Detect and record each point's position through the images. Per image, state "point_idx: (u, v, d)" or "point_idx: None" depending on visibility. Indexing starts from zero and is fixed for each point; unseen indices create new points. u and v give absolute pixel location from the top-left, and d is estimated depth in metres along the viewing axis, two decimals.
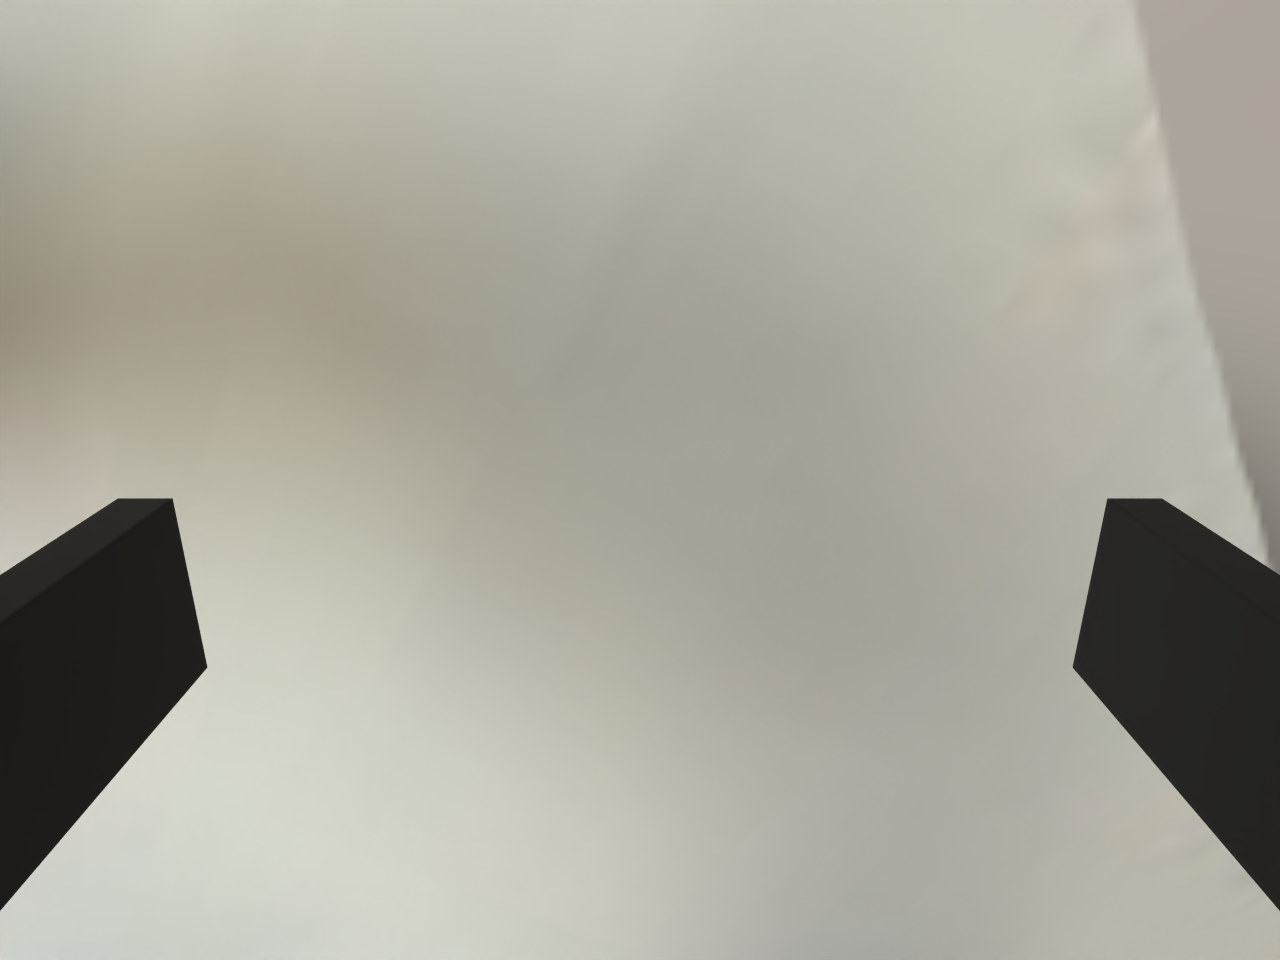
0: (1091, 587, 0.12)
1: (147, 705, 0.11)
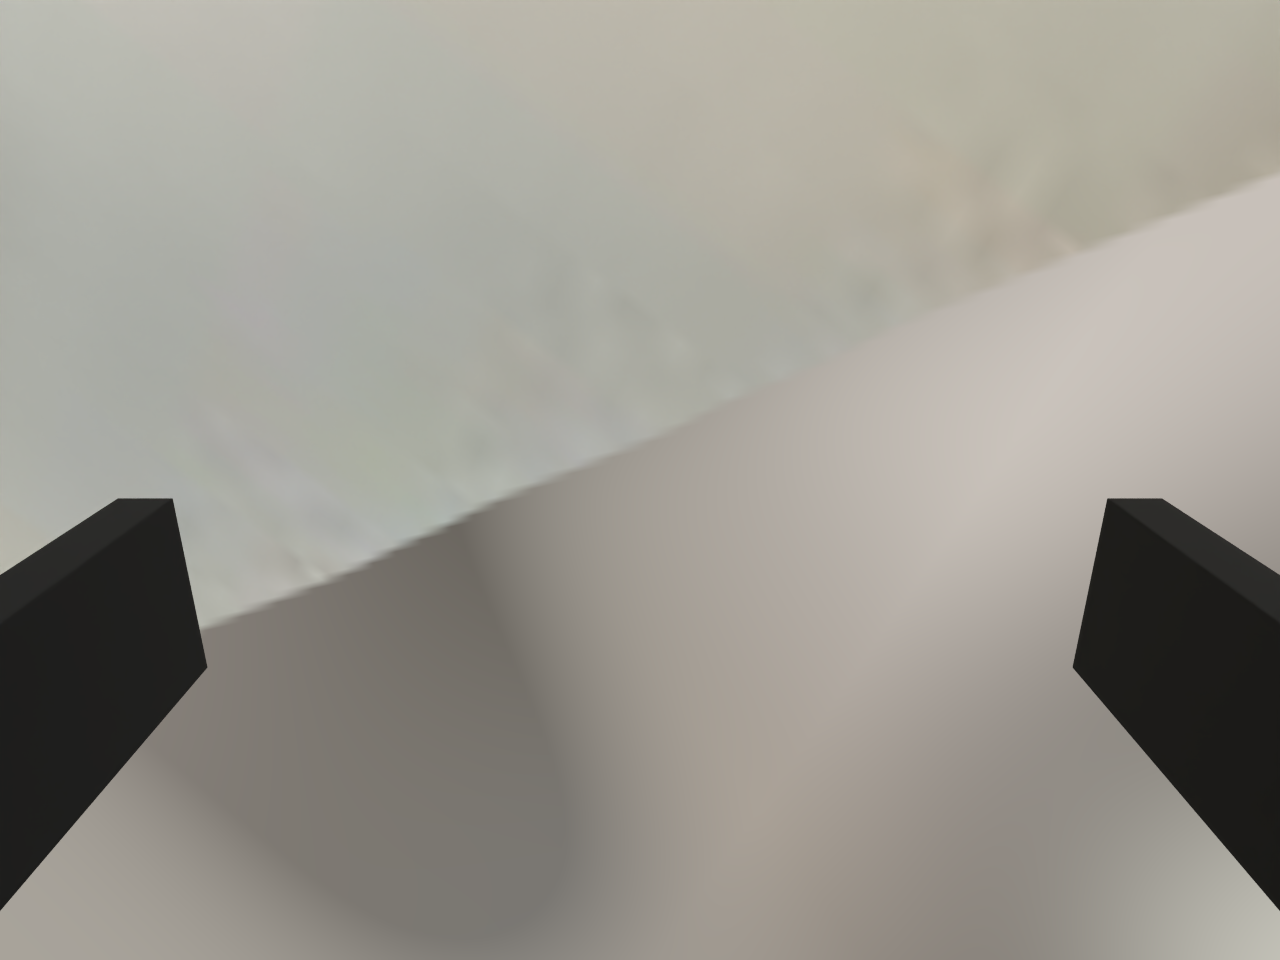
0: (1092, 587, 0.12)
1: (147, 706, 0.11)
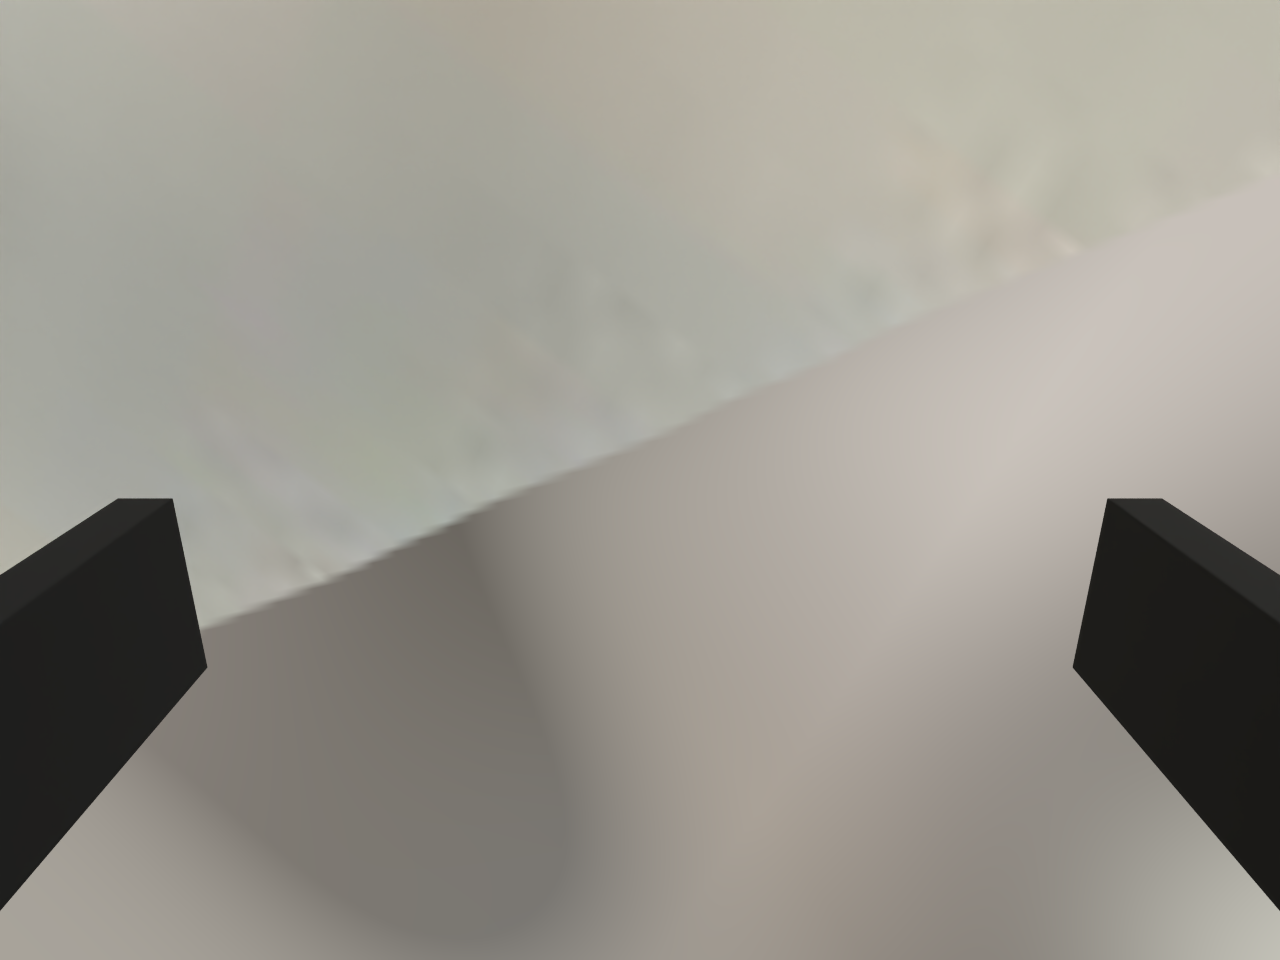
0: (1092, 587, 0.12)
1: (147, 706, 0.11)
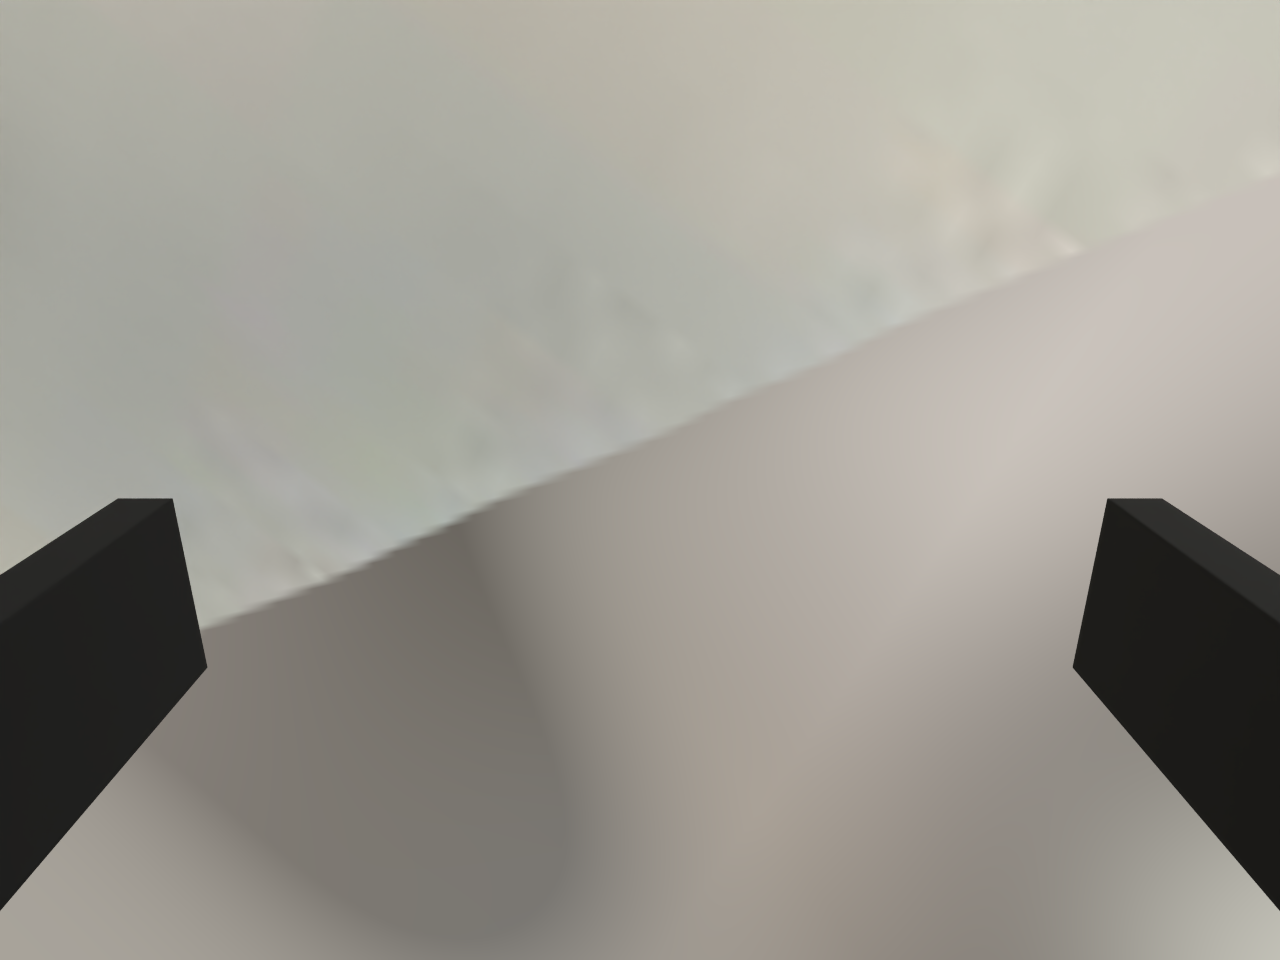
0: (1092, 587, 0.12)
1: (147, 706, 0.11)
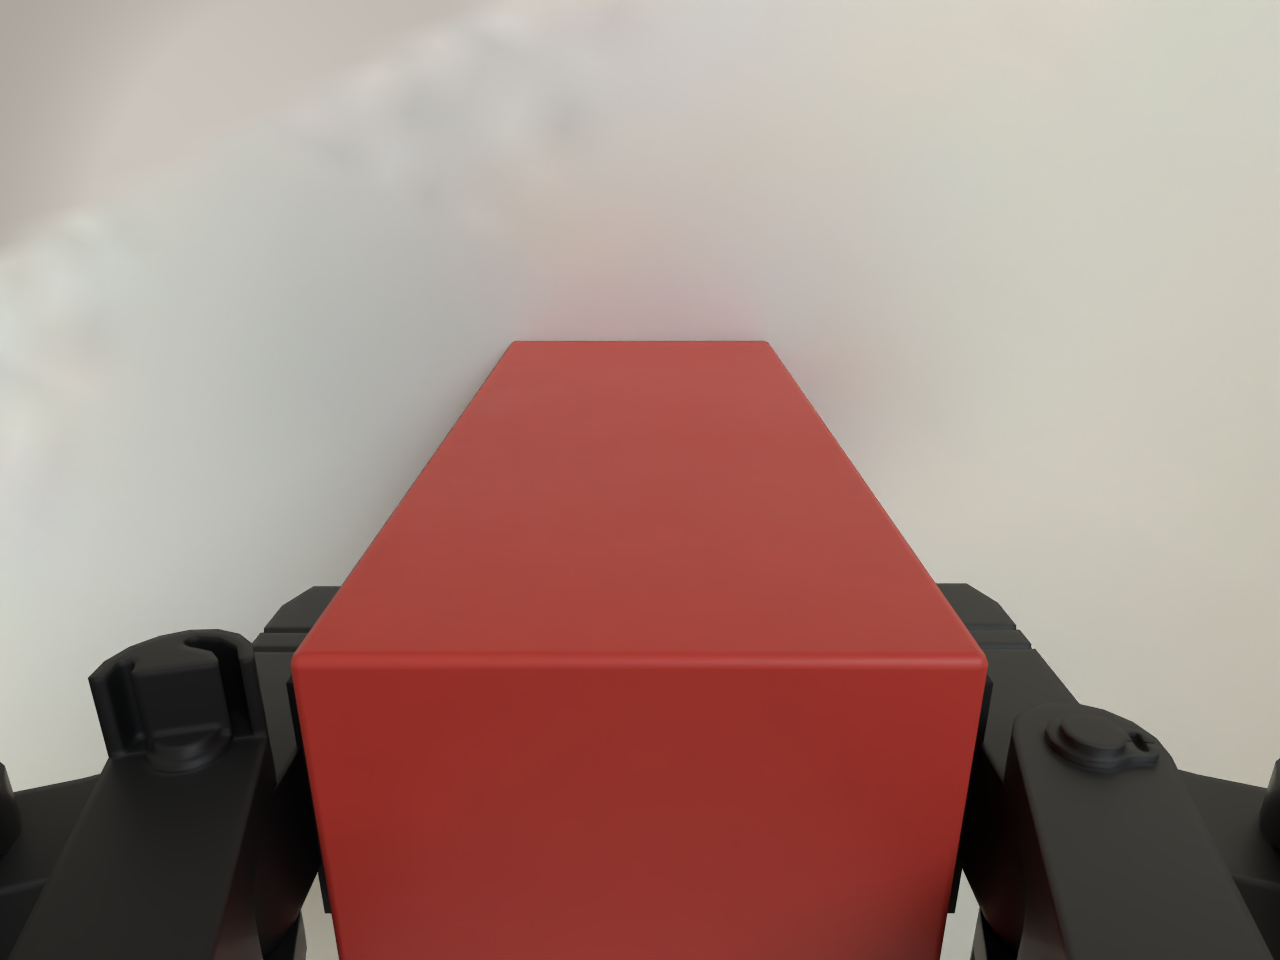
0: None
1: None
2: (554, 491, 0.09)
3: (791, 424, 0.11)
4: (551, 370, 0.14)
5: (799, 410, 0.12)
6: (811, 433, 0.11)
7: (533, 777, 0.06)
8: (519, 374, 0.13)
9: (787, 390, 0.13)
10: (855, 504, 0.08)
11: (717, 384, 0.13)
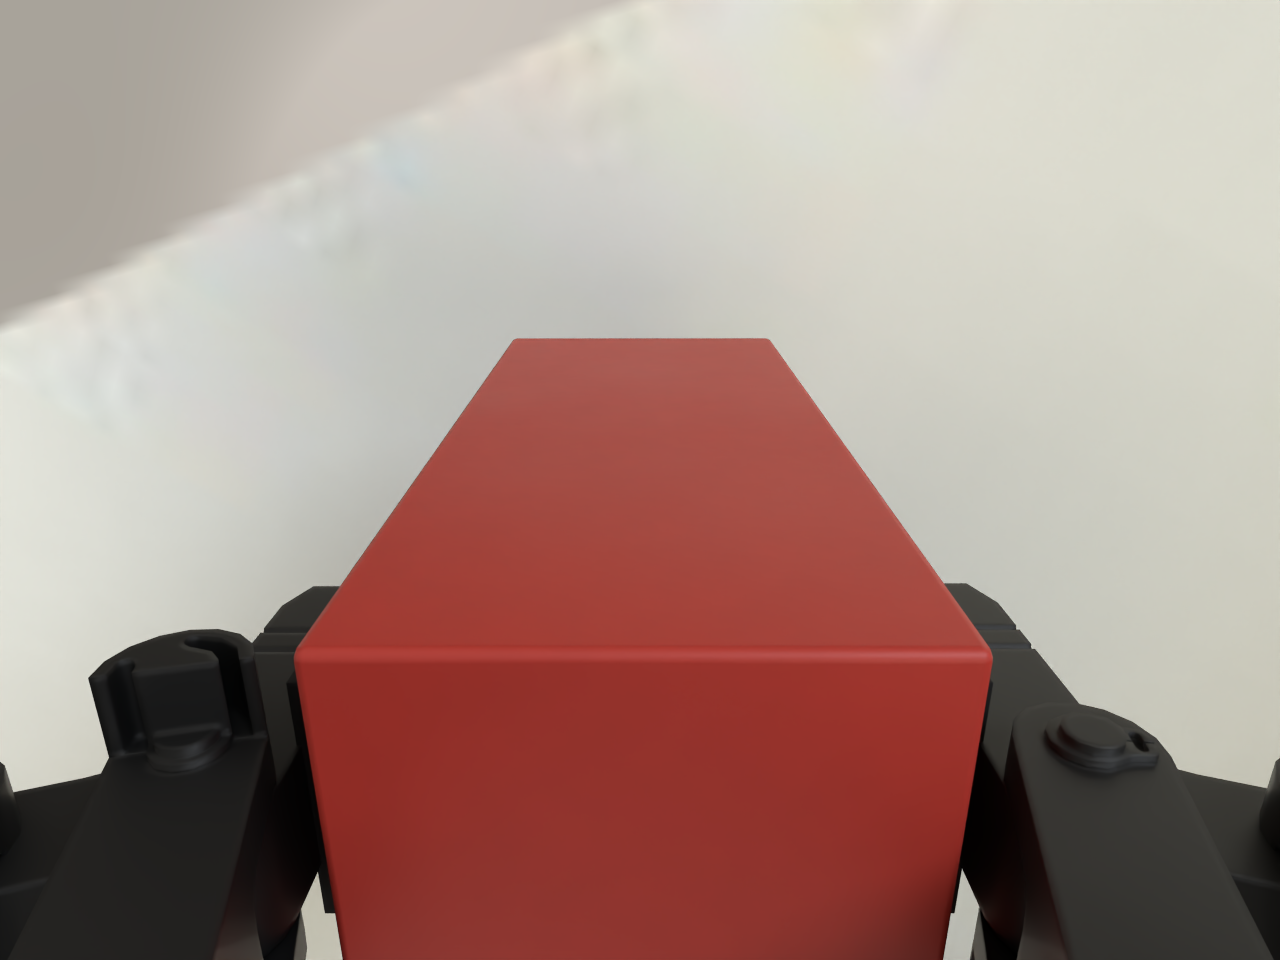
0: None
1: None
2: (557, 487, 0.09)
3: (794, 420, 0.11)
4: (553, 367, 0.14)
5: (801, 407, 0.12)
6: (814, 430, 0.11)
7: (537, 770, 0.06)
8: (521, 371, 0.13)
9: (789, 387, 0.13)
10: (858, 499, 0.08)
11: (718, 381, 0.13)
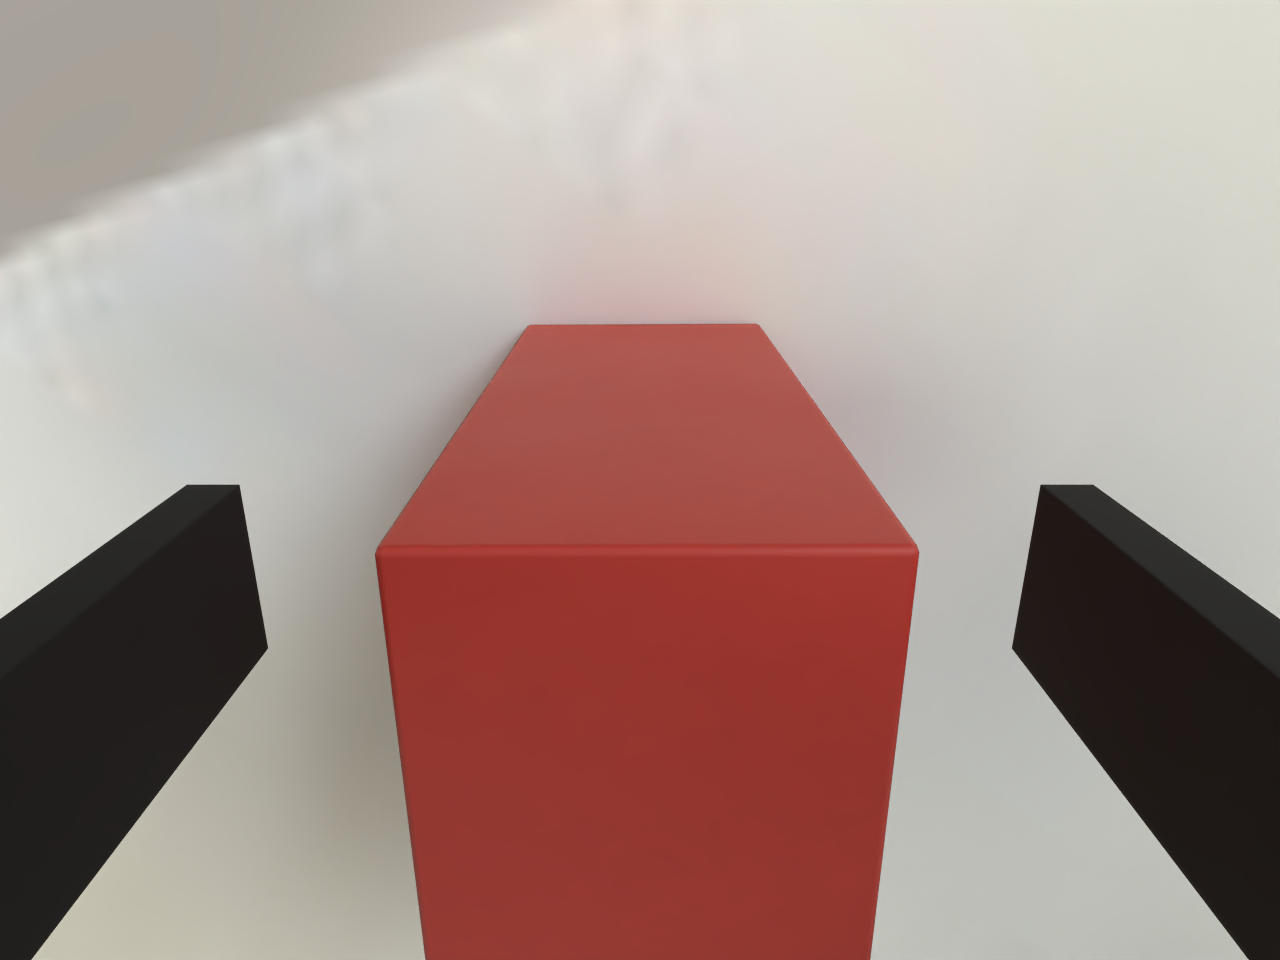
0: (1028, 571, 0.13)
1: (219, 682, 0.12)
2: (573, 440, 0.10)
3: (775, 389, 0.13)
4: (565, 348, 0.15)
5: (783, 378, 0.13)
6: (792, 395, 0.12)
7: (564, 645, 0.08)
8: (536, 351, 0.15)
9: (774, 363, 0.14)
10: (825, 447, 0.10)
11: (712, 359, 0.15)
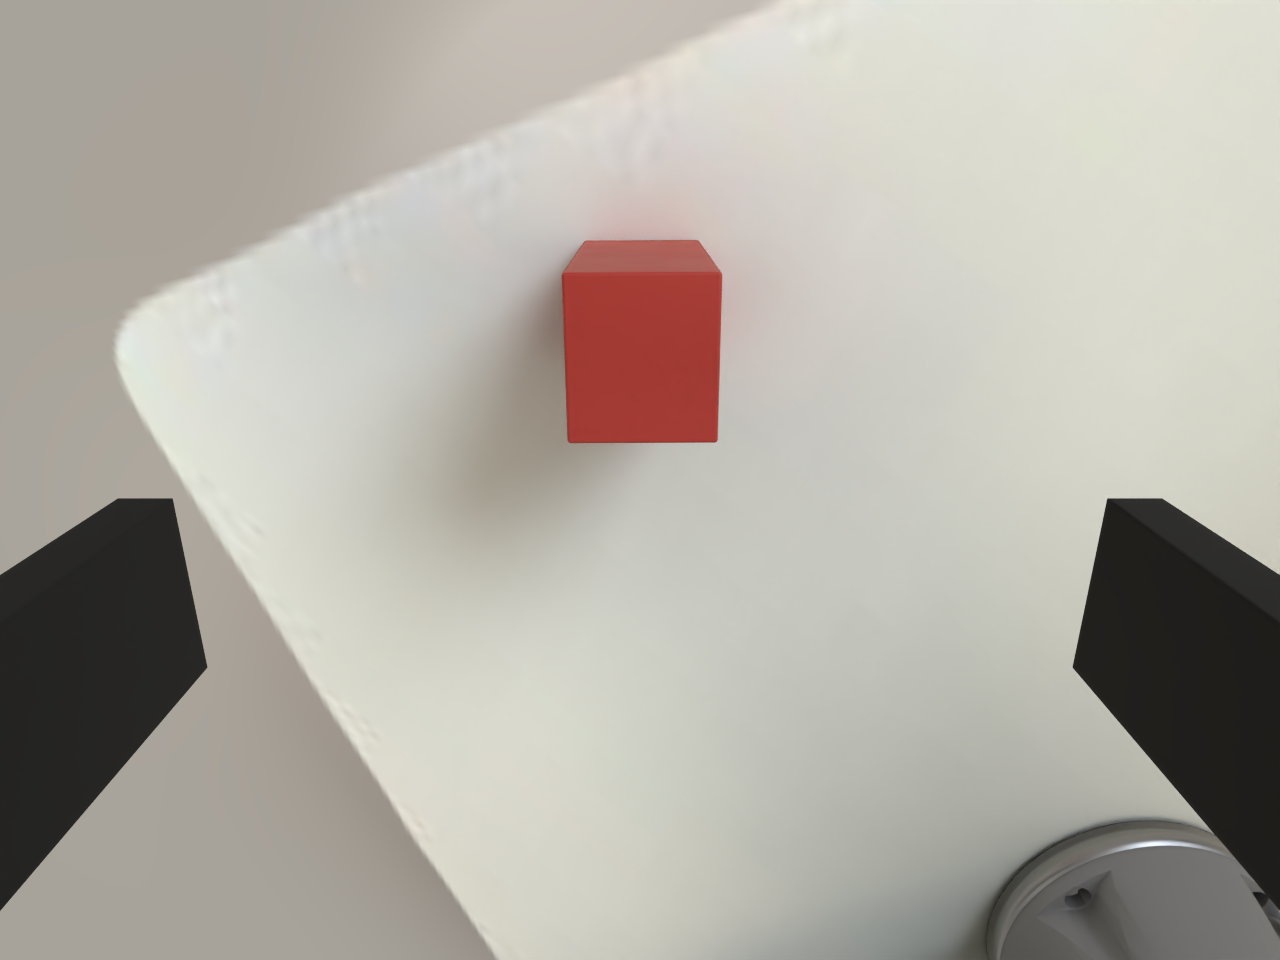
0: (1092, 587, 0.12)
1: (147, 705, 0.11)
2: (615, 261, 0.29)
3: (695, 253, 0.31)
4: (605, 245, 0.34)
5: (700, 251, 0.31)
6: (701, 254, 0.30)
7: (617, 305, 0.26)
8: (593, 246, 0.33)
9: (698, 248, 0.32)
10: (706, 261, 0.28)
11: (671, 248, 0.33)
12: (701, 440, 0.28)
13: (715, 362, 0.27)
